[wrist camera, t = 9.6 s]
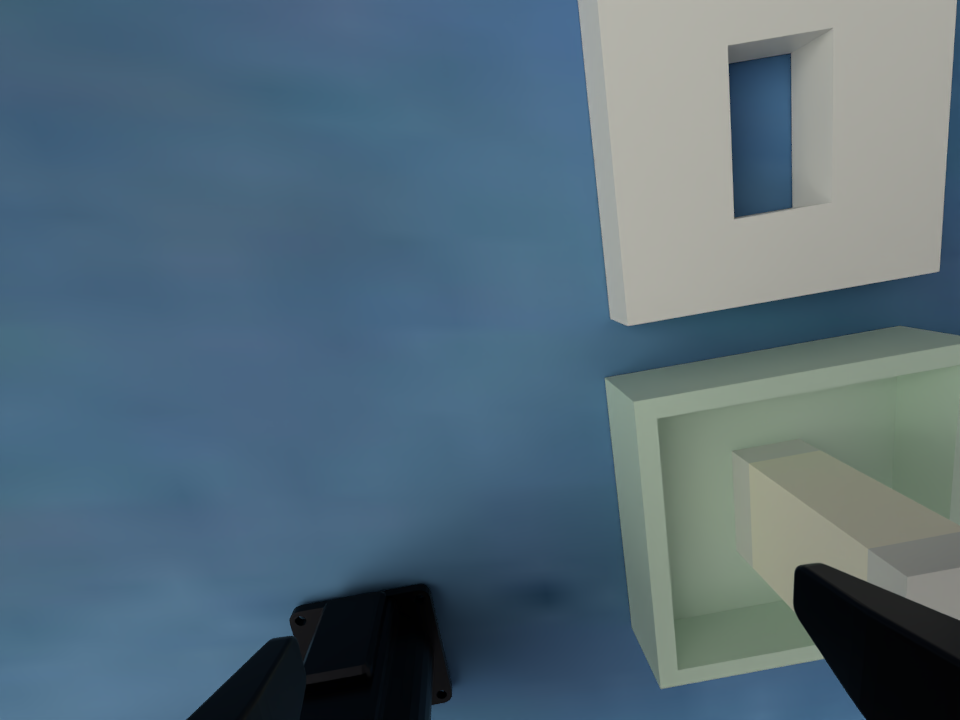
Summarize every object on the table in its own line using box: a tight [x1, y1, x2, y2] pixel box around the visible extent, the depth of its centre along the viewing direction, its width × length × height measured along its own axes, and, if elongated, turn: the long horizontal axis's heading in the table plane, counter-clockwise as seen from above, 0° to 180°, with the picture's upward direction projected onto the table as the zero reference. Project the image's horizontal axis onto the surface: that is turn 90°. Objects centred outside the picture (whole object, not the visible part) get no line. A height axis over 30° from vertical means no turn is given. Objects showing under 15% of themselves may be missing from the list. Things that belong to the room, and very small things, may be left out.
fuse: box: [732, 439, 960, 620], centre depth 17 cm, size 5×3×8 cm, turn 10°
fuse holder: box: [578, 0, 957, 326], centre depth 17 cm, size 12×12×2 cm
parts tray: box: [605, 326, 960, 689], centre depth 20 cm, size 13×13×3 cm
